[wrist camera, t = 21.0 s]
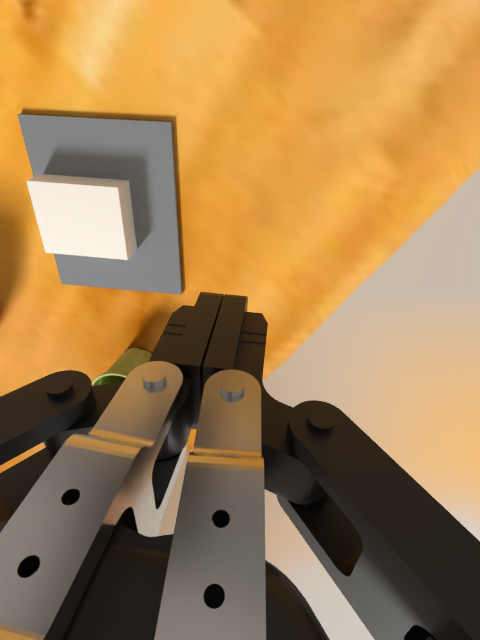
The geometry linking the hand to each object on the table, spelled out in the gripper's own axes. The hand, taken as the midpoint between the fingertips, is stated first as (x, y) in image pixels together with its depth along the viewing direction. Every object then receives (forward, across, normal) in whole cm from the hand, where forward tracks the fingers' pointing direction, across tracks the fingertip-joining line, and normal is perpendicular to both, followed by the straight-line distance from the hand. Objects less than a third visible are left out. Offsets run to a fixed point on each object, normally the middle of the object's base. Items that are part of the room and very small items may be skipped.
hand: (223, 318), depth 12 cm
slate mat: (+36, +20, +10) cm, 42 cm away
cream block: (+34, +17, +10) cm, 39 cm away
